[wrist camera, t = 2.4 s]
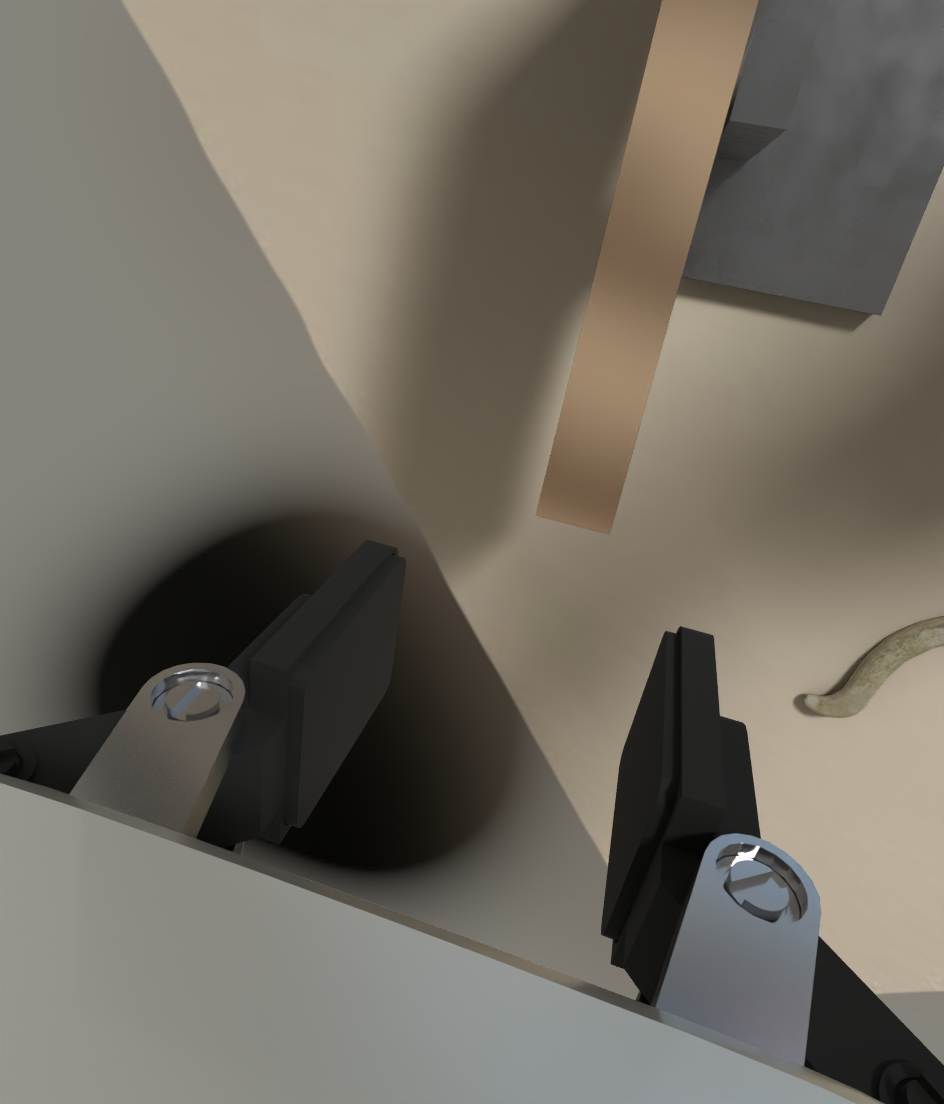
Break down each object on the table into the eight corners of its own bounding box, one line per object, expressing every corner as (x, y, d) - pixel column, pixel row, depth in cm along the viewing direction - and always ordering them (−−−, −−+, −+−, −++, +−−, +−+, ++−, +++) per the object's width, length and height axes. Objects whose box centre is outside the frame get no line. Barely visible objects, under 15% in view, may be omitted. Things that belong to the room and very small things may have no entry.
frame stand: (767, -45, 37) (836, -256, 20) (1011, -16, 35) (1306, -224, 18) (677, 274, 44) (675, 308, 28) (874, 312, 42) (997, 374, 26)
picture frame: (751, -258, 30) (898, -1073, 13) (820, -253, 30) (1062, -1092, 13) (570, 455, 39) (520, 511, 22) (621, 468, 39) (609, 535, 22)
